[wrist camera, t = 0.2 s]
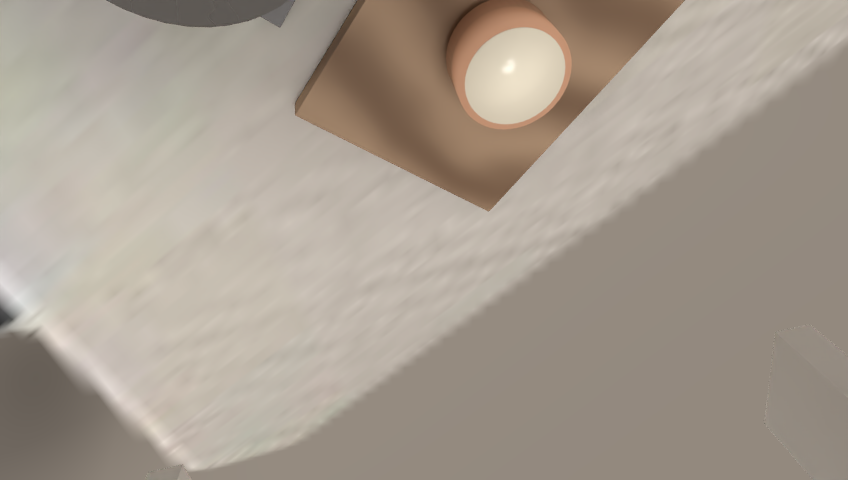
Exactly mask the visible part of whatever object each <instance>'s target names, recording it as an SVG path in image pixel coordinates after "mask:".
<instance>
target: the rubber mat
mask: <svg viewBox="0 0 848 480" xmlns="http://www.w3.org/2000/svg"><path fill="white" fill-rule="evenodd" d="M294 1H295V0H288V1H287V2H286V3H284V4H283V5H281V6H280V7H278V8H276V9H274V10H272V11H271V12H269V13H267V14H265V15H262V16H261V17H262V18H264V19H266V20H268V21H269V22H271V23H273V24H274V25H276V26H278V27H281V25H282V23H283V22H284V20H285V18H286V16H287V14H288V12H289V11H290V9H291V7H292V5H293V3H294Z"/></svg>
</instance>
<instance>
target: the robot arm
mask: <svg viewBox="0 0 848 480" xmlns="http://www.w3.org/2000/svg"><path fill="white" fill-rule="evenodd" d="M764 424H765V425H766V426H767V427H768V428H769V429H770V431H771V432H772V433H773V434H774V435H775V436H776V438H777V439H778V440H779V441H780V442H781V443H782V444H783V446H784V447H785V448H786V449H787V450H788V451H789V452H790V453H791V455H792V456H793V457H794V458H795V459H796V461H797V462H798V463H799V464H800V465H801V466H802V468H803V469H804V470H805V471H806V472H807V473H808V474H809V476H810V477H811V478H812V479H813V480H848V355H847V354H845V353H844V352H843V351H842V350H841V349H839V348H838V347H837V346H836V345H834V344H833V343H832V342H831V341H829V340H828V339H827V338H826V337H825V336H823V335H822V334H821V333H820V332H818V331H817V330H816V329H815V328H814V327H812V326H811V325H805V326H801V327H796V328H792V329H787V330H783V331H778V332H775V338H774V347H773V355H772V364H771V372H770V381H769V389H768V398H767V407H766V415H765V423H764ZM145 480H191V478H190V476H189V474H188V473H187V471H186V469H185V467H184V466H183V464H182V465H178V466H173V467H169V468H165V469H160V470H155V471H151V472H148V474H147V477H146V479H145Z"/></svg>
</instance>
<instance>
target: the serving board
mask: <svg viewBox="0 0 848 480" xmlns="http://www.w3.org/2000/svg"><path fill="white" fill-rule="evenodd" d="M487 1H489V0H357V2H356V4H355V5H354V7H353V9H352V10H351V12H350V14H349V15H348V17H347V19H346V20H345V22H344V24H343V25H342V27H341V29H340V30H339V32H338V33H337V35H336V37H335V38H334V40H333V42H332V43H331V45H330V47H329V48H328V50H327V52H326V53H325V55H324V57H323V58H322V60H321V62H320V63H319V65H318V67H317V68H316V70H315V71H314V73H313V75H312V76H311V78H310V80H309V81H308V83H307V85H306V86H305V88H304V90H303V91H302V93H301V95H300V96H299V98H298V100H297V101H296V103H295V115H296V116H298V117H300V118H302V119H304V120H306V121H308V122H310V123H312V124H314V125H316V126H318V127H320V128H322V129H324V130H326V131H328V132H330V133H332V134H334V135H336V136H338V137H340V138H342V139H344V140H346V141H348V142H350V143H352V144H354V145H356V146H358V147H360V148H362V149H364V150H366V151H368V152H370V153H372V154H374V155H376V156H378V157H380V158H382V159H384V160H386V161H388V162H390V163H392V164H394V165H396V166H398V167H400V168H402V169H404V170H406V171H408V172H410V173H412V174H414V175H416V176H418V177H420V178H422V179H424V180H426V181H428V182H430V183H432V184H434V185H436V186H438V187H440V188H442V189H444V190H446V191H448V192H450V193H452V194H454V195H456V196H459V197H461V198H463V199H465V200H467V201H469V202H471V203H473V204H475V205H477V206H479V207H481V208H483V209H485V210H487V211H490V210H491V209H492V208H493V207H494V206H495V204H496V203H497V202H498V201H499V200H500V199H501V198H502V197H503V196H504V195H505V194H506V193H507V191H508V190H509V189H510V188H511V187H512V186H513V185H514V184H515V183H516V182H517V181H518V180H519V179H520V177H521V176H522V175H523V174H524V173H525V172H526V171H527V170H528V169H529V168H530V167H531V166H532V165H533V163H534V162H535V161H536V160H537V159H538V158H539V157H540V156H541V155H542V154H543V153H544V152H545V151H546V149H547V148H548V147H549V146H550V145H551V144H552V143H553V142H554V141H555V140H556V139H557V138H558V137H559V135H560V134H561V133H562V132H563V131H564V130H565V129H566V128H567V127H568V126H569V125H570V124H571V122H572V121H573V120H574V119H575V118H576V117H577V116H578V115H579V114H580V113H581V112H582V111H583V110H584V108H585V107H586V106H587V105H588V104H589V103H590V102H591V101H592V100H593V99H594V98H595V97H596V96H597V94H598V93H599V92H600V91H601V90H602V89H603V88H604V87H605V86H606V85H607V84H608V83H609V82H610V80H611V79H612V78H613V77H614V76H615V75H616V74H617V73H618V72H619V71H620V70H621V69H622V67H623V66H624V65H625V64H626V63H627V62H628V61H629V60H630V59H631V58H632V57H633V56H634V55H635V53H636V52H637V51H638V50H639V49H640V48H641V47H642V46H643V45H644V44H645V43H646V42H647V41H648V39H649V38H650V37H651V36H652V35H653V34H654V33H655V32H656V31H657V30H658V29H659V28H660V27H661V25H662V24H663V23H664V22H665V21H666V20H667V19H668V18H669V17H670V16H671V15H672V14H673V13H674V11H675V10H676V9H677V8H678V7H679V6H680V5H681V4H682V3H683V2H684V1H685V0H526V1H528V2H530V3H532V4H533V5H535V6H536V7H537V8H539V9H540V10H541V11H542V12H543V14H544V15H545V16H546V17H547V18H548V20H549V21H550V22H551V23H552V24H553V25H554V27H555V28H556V29H557V30H558V31H559V32H560V34H561V35H562V36H563V37H564V39H565V40H566V42H567V44H568V46H569V49H570V53H571V58H572V69H571V75H570V80H569V82H568V85H567V87H566V89H565V92H564V93H563V95H562V97H561V98H560V100H559V101H558V102H557V103H556V105H555V106H554V107H553V108H552V109H551V110H550V111H549V112H547V113H546V114H545V115H544V116H542V117H541V118H539V119H538V120H536V121H534V122H532V123H530V124H528V125H525V126H522V127H519V128H514V129H504V130H503V129H494V128H489V127H486V126H483V125H481V124H479V123H478V122H476V121H475V120H473V119H472V118H471V117H470V116H469V115H468V114H467V112H466V111H465V110H464V108H463V106H462V104H461V102H460V100H459V97H458V95H457V93H456V90H455V88H454V86H453V84H452V81H451V79H450V76H449V74H448V70H447V66H446V52H447V47H448V43H449V40H450V37H451V35H452V33H453V31H454V29H455V28H456V26H457V24H458V23H459V22H460V21H461V19H462V18H463V17H464V16H465V15H466V14H467V13H468V12H470V11H471V10H472V9H474V8H475V7H477V6H478V5H480V4H482V3H484V2H487Z"/></svg>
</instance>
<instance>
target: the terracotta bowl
mask: <svg viewBox="0 0 848 480" xmlns="http://www.w3.org/2000/svg"><path fill="white" fill-rule="evenodd" d="M446 66H447V70H448V74H449V76H450V79H451V81H452V84H453V86H454V88H455V90H456V93H457V95H458V97H459V100H460V102H461V104H462V106H463V108H464V110H465V111H466V112H467V114H468V115H469V116H470V117H471V118H472V119H473V120H475V121H476V122H478V123H479V124H481V125H483V126H486V127H489V128H494V129H503V130H504V129H514V128H519V127H522V126H525V125H528V124H530V123H532V122H534V121H536V120H538V119H539V118H541V117H542V116H544V115H545V114H546V113H547V112H549V111H550V110H551V109H552V108H553V107H554V106H555V105H556V103H557V102H558V101H559V100H560V98H561V97H562V95H563V93H564V92H565V89H566V87H567V85H568V82H569V80H570V75H571V69H572V58H571V53H570V49H569V46H568V44H567V42H566V40H565V39H564V37H563V36H562V35H561V34H560V32H559V31H558V30H557V29H556V28H555V27H554V25H553V24H552V23H551V22H550V21H549V20H548V18H547V17H546V16H545V15H544V14H543V12H542V11H541V10H540V9H539V8H537V7H536V6H535V5H533V4H532V3H530V2H528V1H526V0H489V1H487V2H484V3H482V4H480V5H478V6H477V7H475V8H474V9H472V10H471V11H470V12H468V13H467V14H466V15H465V16H464V17H463V18H462V19H461V21H460V22H459V23H458V24H457V26H456V28H455V29H454V31H453V33H452V35H451V37H450V40H449V43H448V47H447V52H446Z"/></svg>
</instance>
